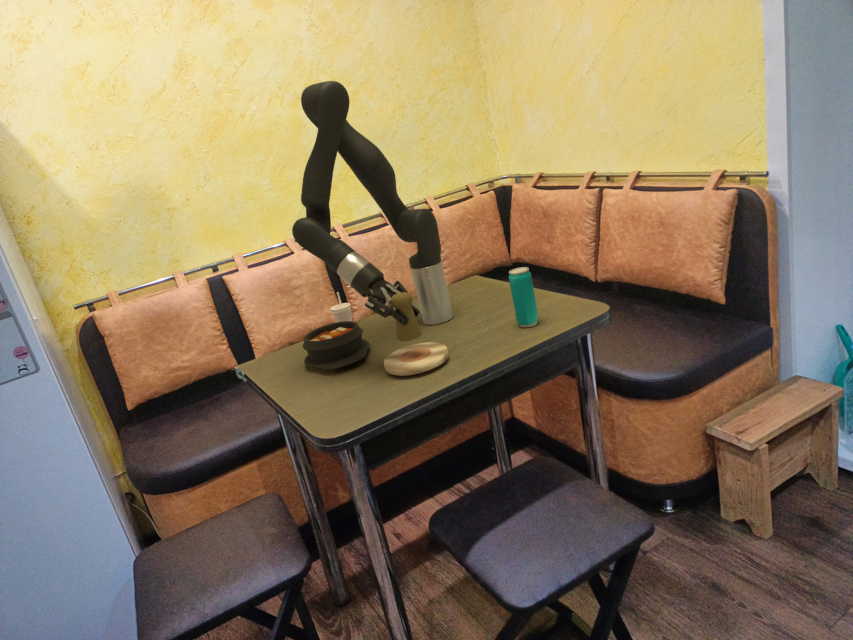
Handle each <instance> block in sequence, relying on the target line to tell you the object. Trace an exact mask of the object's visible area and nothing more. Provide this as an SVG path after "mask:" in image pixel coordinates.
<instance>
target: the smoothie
mask: <svg viewBox="0 0 853 640" xmlns="http://www.w3.org/2000/svg"><path fill="white" fill-rule="evenodd" d="M336 296H337V298H338V302H339V303H338V304H335V305H334V306H333V305H332V306H331V308H330V313H332V315H333V318H334V320H335V323H336V322H343V321H353V315H352V304H351V303H350V302H342V300H341V296H340V293H339V291H337V292H336Z"/></svg>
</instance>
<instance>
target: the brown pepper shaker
mask: <svg viewBox="0 0 853 640" xmlns="http://www.w3.org/2000/svg"><path fill="white" fill-rule="evenodd" d="M407 292H408V291H407ZM407 292H401V293H397V294H395V295H393V296H392V297H391V299H392V304H393V305H394V306H395V307H396V308H397V310H398V309H399V310H400V311H401V312H402V313H404V314H405V315H406V316H407V317H408V318H409V319H410V320H409V322H408V323H407V325H405V326H404V325H402V324H401V323H399V322H398V321H397V320H396V319H395V325H396V327H395V328H396V336H397V337H396V338H397V340H398V341H399V342H410V341H413V340H416V339H418V338H420V337H421V336H422V335H423V333H422V330H421V328H420V326H419V322H418V320H417V317H415V314H414V311H413V308H412V306H411V304H412V305H413V296H412V295H411V293H409V292H408V293H407Z"/></svg>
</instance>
